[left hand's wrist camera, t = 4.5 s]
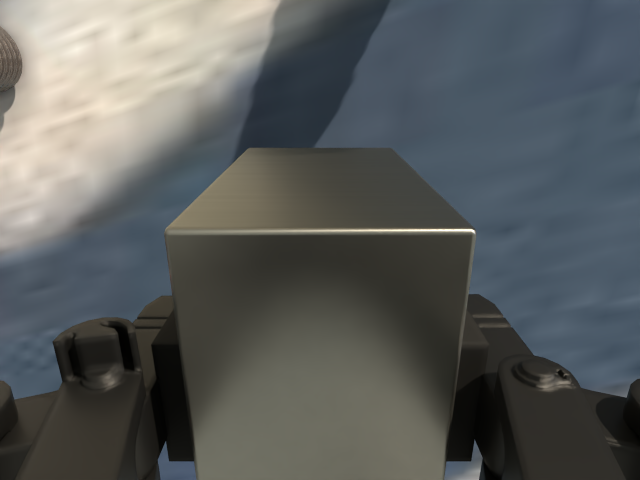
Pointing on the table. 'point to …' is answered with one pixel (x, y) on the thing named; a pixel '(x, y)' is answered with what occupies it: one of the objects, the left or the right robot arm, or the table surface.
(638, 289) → the table surface
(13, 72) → the light bulb
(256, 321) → the bar
